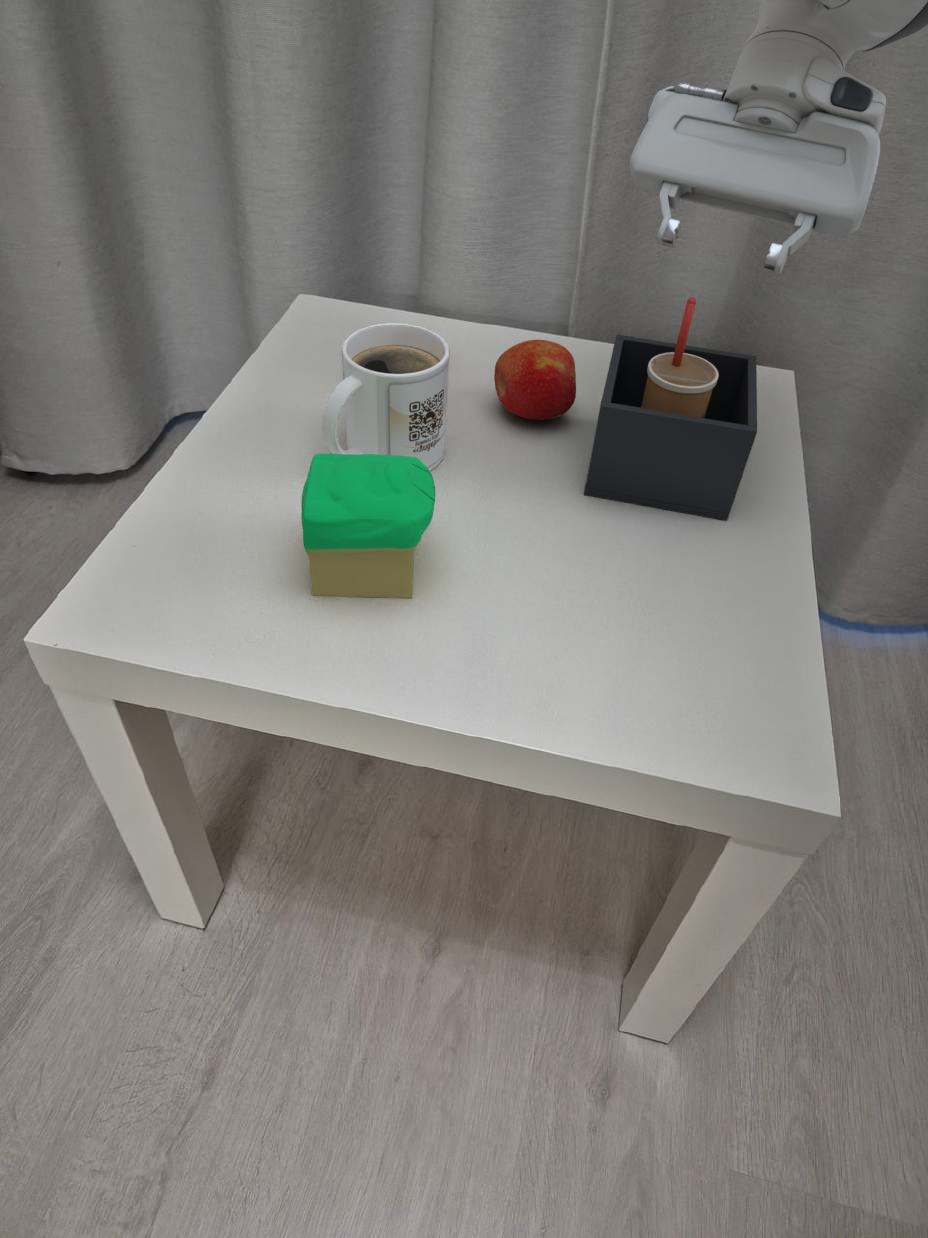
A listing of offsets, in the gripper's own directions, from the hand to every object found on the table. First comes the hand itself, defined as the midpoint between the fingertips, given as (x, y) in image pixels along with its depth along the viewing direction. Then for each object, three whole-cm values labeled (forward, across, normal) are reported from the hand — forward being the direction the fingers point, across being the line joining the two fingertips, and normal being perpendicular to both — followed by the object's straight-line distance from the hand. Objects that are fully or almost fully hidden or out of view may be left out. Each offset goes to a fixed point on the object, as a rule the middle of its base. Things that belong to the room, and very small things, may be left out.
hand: (717, 255), depth 75 cm
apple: (+15, -15, +14) cm, 25 cm away
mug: (+25, -24, +4) cm, 35 cm away
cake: (+35, -17, -6) cm, 40 cm away
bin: (+16, 0, +12) cm, 20 cm away
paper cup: (+16, 0, +12) cm, 20 cm away
